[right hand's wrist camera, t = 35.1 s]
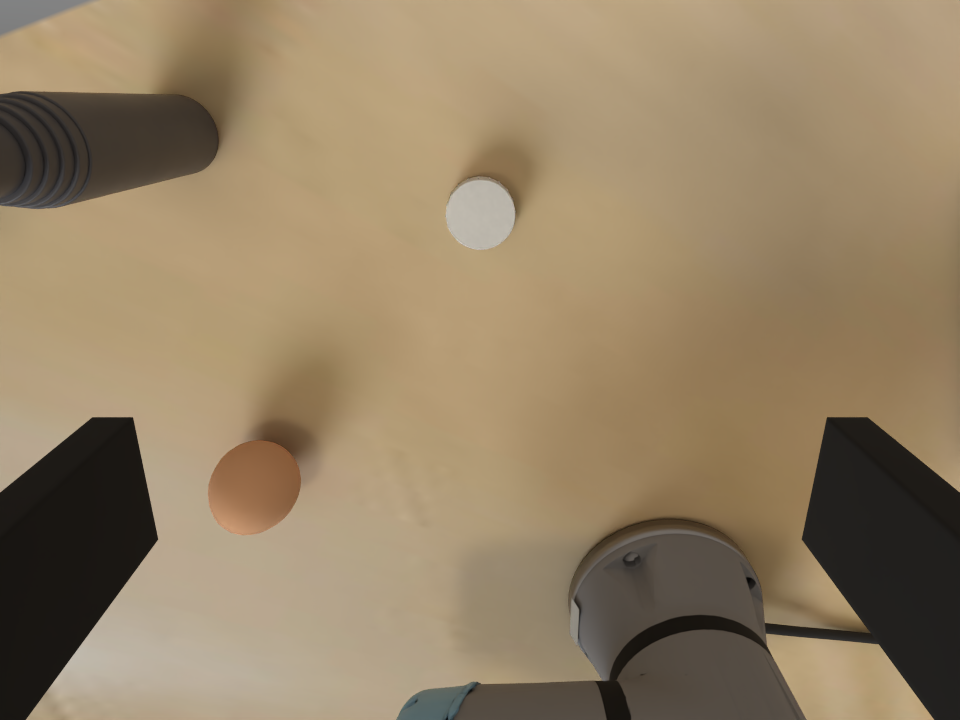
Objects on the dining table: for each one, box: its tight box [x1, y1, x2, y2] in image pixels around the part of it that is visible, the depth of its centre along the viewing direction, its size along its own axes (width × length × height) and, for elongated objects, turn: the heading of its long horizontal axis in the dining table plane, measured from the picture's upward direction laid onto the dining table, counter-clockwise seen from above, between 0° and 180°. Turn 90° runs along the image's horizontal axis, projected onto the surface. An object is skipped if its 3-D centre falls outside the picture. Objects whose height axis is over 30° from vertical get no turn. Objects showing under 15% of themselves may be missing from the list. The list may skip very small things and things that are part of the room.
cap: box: [445, 176, 516, 250], centre depth 43 cm, size 4×4×2 cm
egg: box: [208, 440, 301, 535], centre depth 47 cm, size 6×6×8 cm
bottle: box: [0, 91, 218, 209], centre depth 33 cm, size 5×5×21 cm
